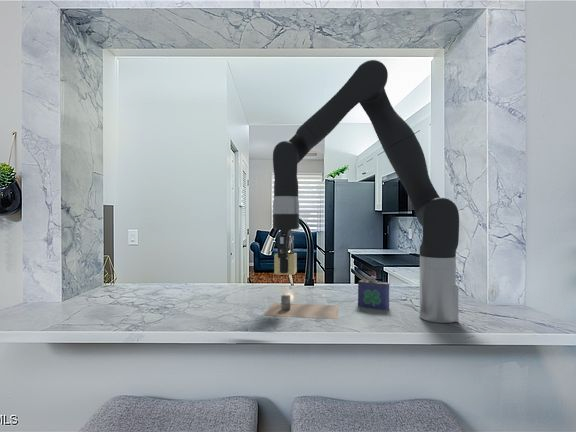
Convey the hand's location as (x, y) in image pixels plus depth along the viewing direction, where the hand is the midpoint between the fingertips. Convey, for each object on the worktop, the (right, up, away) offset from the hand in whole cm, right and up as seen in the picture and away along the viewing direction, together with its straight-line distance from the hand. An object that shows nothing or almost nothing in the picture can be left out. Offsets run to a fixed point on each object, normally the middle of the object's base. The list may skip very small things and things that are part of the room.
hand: (285, 271), depth 100 cm
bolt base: (+5, -12, -1) cm, 13 cm away
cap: (0, 0, 0) cm, 0 cm away
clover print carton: (+26, -13, +3) cm, 29 cm away
